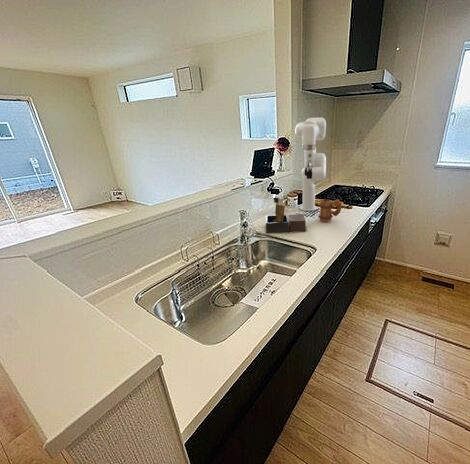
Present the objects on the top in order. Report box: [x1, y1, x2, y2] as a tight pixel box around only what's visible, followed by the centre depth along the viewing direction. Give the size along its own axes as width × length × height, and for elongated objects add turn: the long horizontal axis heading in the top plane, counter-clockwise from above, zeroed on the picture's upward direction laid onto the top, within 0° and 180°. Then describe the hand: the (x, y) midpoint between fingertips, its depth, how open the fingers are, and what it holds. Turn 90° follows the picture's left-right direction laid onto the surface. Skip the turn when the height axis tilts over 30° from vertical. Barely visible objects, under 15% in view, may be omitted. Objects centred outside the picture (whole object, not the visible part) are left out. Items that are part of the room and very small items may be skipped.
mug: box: [317, 198, 343, 223], centre depth 165 cm, size 15×8×15 cm, turn 74°
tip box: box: [272, 194, 286, 222], centre depth 153 cm, size 13×13×7 cm
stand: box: [287, 213, 307, 233], centre depth 157 cm, size 12×10×7 cm
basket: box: [265, 214, 290, 234], centre depth 157 cm, size 14×14×7 cm
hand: (308, 177), depth 154 cm, fingers open, 9 cm apart
